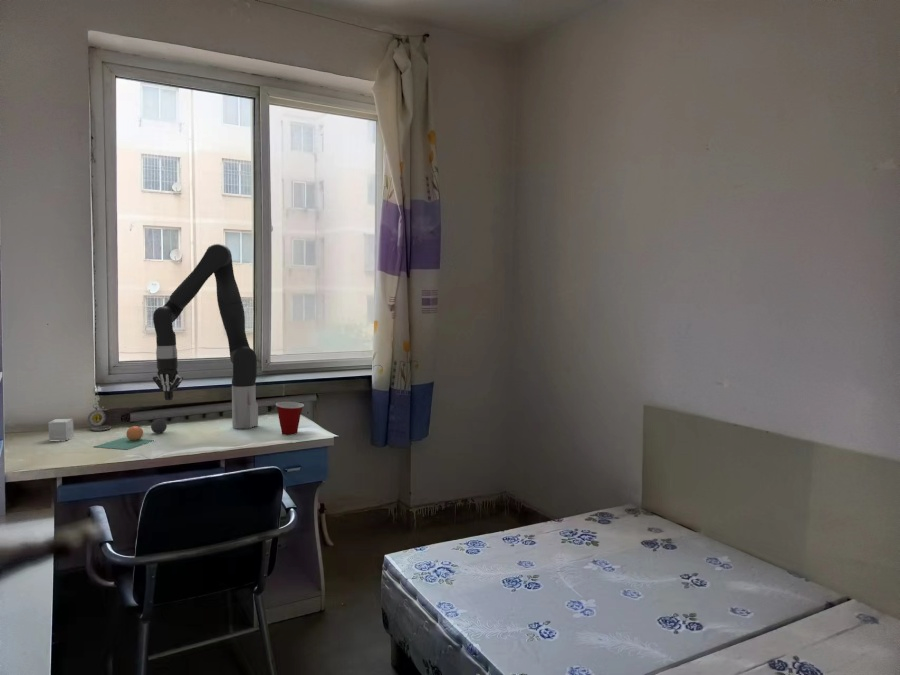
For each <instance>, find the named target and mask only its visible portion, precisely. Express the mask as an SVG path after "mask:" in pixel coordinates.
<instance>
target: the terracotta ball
mask: <svg viewBox="0 0 900 675" xmlns="http://www.w3.org/2000/svg"><path fill="white" fill-rule="evenodd" d="M125 433H126V438H128V439H129V440H131V441H137V440H139V439H142V437H143V435H144V430H143V428H141V427H140V426H137V425H132V426H130V427H129V428H128V429H127V430H126V432H125Z"/></svg>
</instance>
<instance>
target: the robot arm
mask: <svg viewBox="0 0 900 675" xmlns="http://www.w3.org/2000/svg"><path fill="white" fill-rule="evenodd" d="M234 272H235V271H234V265H233V257H232V252H231V250H230V249H229V247H228V246H226V245H224V244H221V243H214V244H212V245H209V246H208V247H207V248H206V250H205V252H204V254H203V256H202V257H201V259H200V260H199V262H198V263H197V265H196V266H195V267H194V269H193V270H192V271H191V272H190V273H189V274H188V275H187V277H186V278H185V279H184V280H183V281H182V282H181V283H180V284H179V285H178V286H177V288H175V289H174V290H173V292H172V293H170V296H169V299H168V300H167V302H166V303H165V304H164V305H163V306H160V307H159V306H158V307H157V308H155V309H154V312H153V314H152V322H153V326H154V331H155V333H156V334H155V336H156V338H155V340H156V349H155V356H156V369H157V374H156V375H155V376H152V380H153V381H154V383H155V384H156V386H157V387H158V388H159V390H162V391H163V392H164V394H163V395H164V396H163V397H164V399H165V401H172V400H173V398H174V391H175V390H177V389H178V388H179V386H180V385H181V383H182V381H183V380H184V377H183V376H180V375H179V372H178V367H179V365H178V364H179V363H178V349H177V337H176V333H175V331H174V328H173V327H174V326H173V323H174V322H175V321H176V320H177V319H178V318H179V316H180V315H181V314H182V312H183V310H184V309H185V307H186V306H188V305H189V303H190V302H191V301H192V300H193V299H194V298H195V297H196V295H197V294H198V293H199V291H200V290H201V289H202V288H203V286H204V285H205V283H206V282H207V281H208V279H209V278H210V277H212V275H214V277H215V278H214V279H215V284H216V286H215V287H216V302H217V306H218V311H219V316H220V317H221V321H222V323H223V324H222V325H223V327H224V330H225V334H226V338H227V344H228V349H229V350H228V351H229V358H230V362H231V363H232V371H233V372H232V379H231V410H232V411H231V413H232V414H231V417H232V418H231V420H232V424H231V425H232V428H233V429H237V428H245V429H252V427H253V428H255V427H257V426H256V425H258V426H259V404H258V402H257V399H256V398H257V397H256V394H257V393H256V392H257V391H256V390H257V388H256V385H257V384H256V383H257V382H256V380H257V377H258V376H257V375H258V374H257V372H258V370H257V369H258V367H257V365H258V363H257V361H258V360H257V354H256V351H255V350H254V349H252V348H251V346H250V344H249V342H248V338H247V335H246V334H247V333H246V316H245V309H244V308H245V307H244V305H243V300H242V297H241V294H240V290H239V287H238V284H237V282H236V278H235V274H234ZM254 426H255V427H254Z"/></svg>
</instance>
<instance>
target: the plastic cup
mask: <svg viewBox="0 0 900 675" xmlns="http://www.w3.org/2000/svg"><path fill="white" fill-rule="evenodd" d="M275 406H276V410H277V413H278V421H279V426H280V431H281V434H282V435H283V434H294V435H296V434H295V433H297V434H298V431H299V425H300V419H301V414H302V410H303V408H304V406H305V404H303V403H302V402H301V403H300V402H297V401H281V402H280V401H278V402H276V403H275Z"/></svg>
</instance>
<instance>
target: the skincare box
mask: <svg viewBox="0 0 900 675" xmlns="http://www.w3.org/2000/svg"><path fill="white" fill-rule="evenodd" d="M47 425H48V441H49V440H60V441H59V442H62V441H61V440H68V439H70V438H72V437H74V438H75V436H74V435H75V432H74V431H75V430H74V419H73V418H55V419H53V420H51V421H49V422H47ZM72 439H73V438H72ZM70 440H71V439H70ZM68 441H69V440H68Z"/></svg>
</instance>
